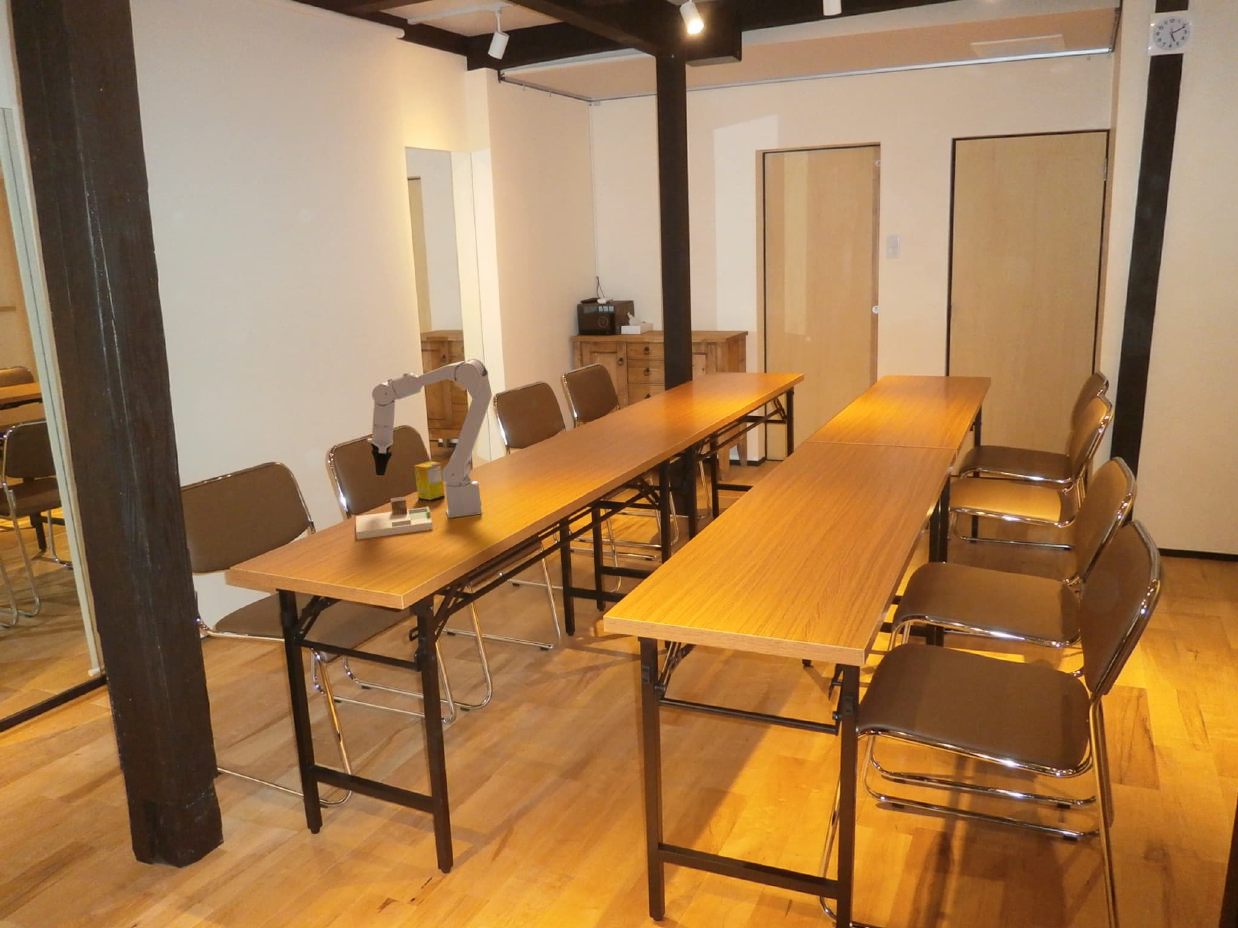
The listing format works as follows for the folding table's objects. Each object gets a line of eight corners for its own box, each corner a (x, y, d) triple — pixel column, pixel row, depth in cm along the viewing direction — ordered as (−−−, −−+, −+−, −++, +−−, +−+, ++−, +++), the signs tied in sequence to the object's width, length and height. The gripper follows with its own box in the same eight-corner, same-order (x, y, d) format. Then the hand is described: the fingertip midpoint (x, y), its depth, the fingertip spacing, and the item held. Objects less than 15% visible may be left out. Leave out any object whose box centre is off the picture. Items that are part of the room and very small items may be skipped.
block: (406, 510, 277) (405, 496, 276) (407, 513, 274) (405, 499, 273) (392, 511, 276) (390, 498, 275) (392, 515, 273) (391, 501, 272)
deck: (428, 513, 280) (427, 501, 279) (432, 529, 264) (431, 516, 263) (357, 523, 275) (355, 510, 274) (357, 539, 259) (355, 526, 259)
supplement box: (432, 495, 300) (428, 460, 298) (445, 497, 297) (441, 462, 294) (417, 500, 296) (413, 465, 293) (430, 502, 292) (426, 467, 290)
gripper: (368, 418, 279) (365, 463, 283) (368, 430, 266) (365, 477, 269) (393, 419, 281) (389, 464, 285) (395, 431, 268) (391, 478, 271)
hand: (379, 471), depth 277 cm, fingers open, 7 cm apart
